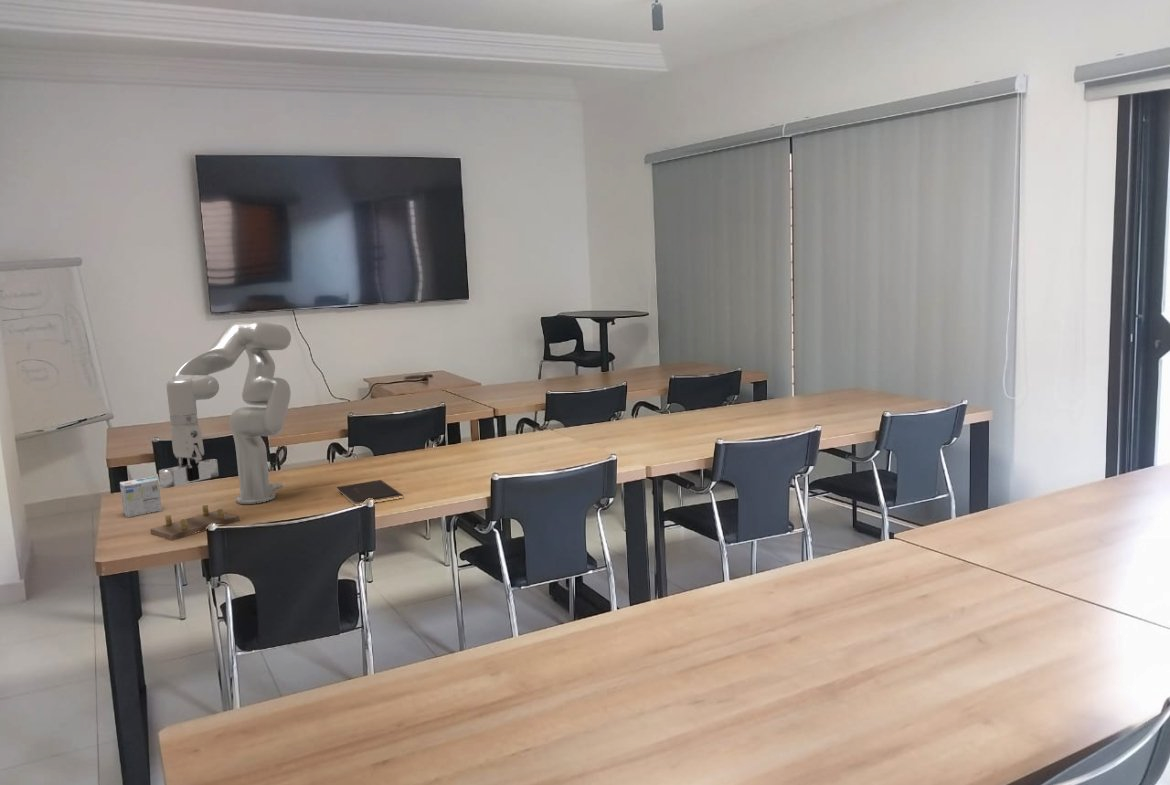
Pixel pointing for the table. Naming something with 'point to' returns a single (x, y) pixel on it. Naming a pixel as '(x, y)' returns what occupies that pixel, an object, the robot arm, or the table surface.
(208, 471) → the silver dumbbell
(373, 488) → the hardcover book
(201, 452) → the robot arm
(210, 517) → the tool board
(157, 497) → the light bulb box
